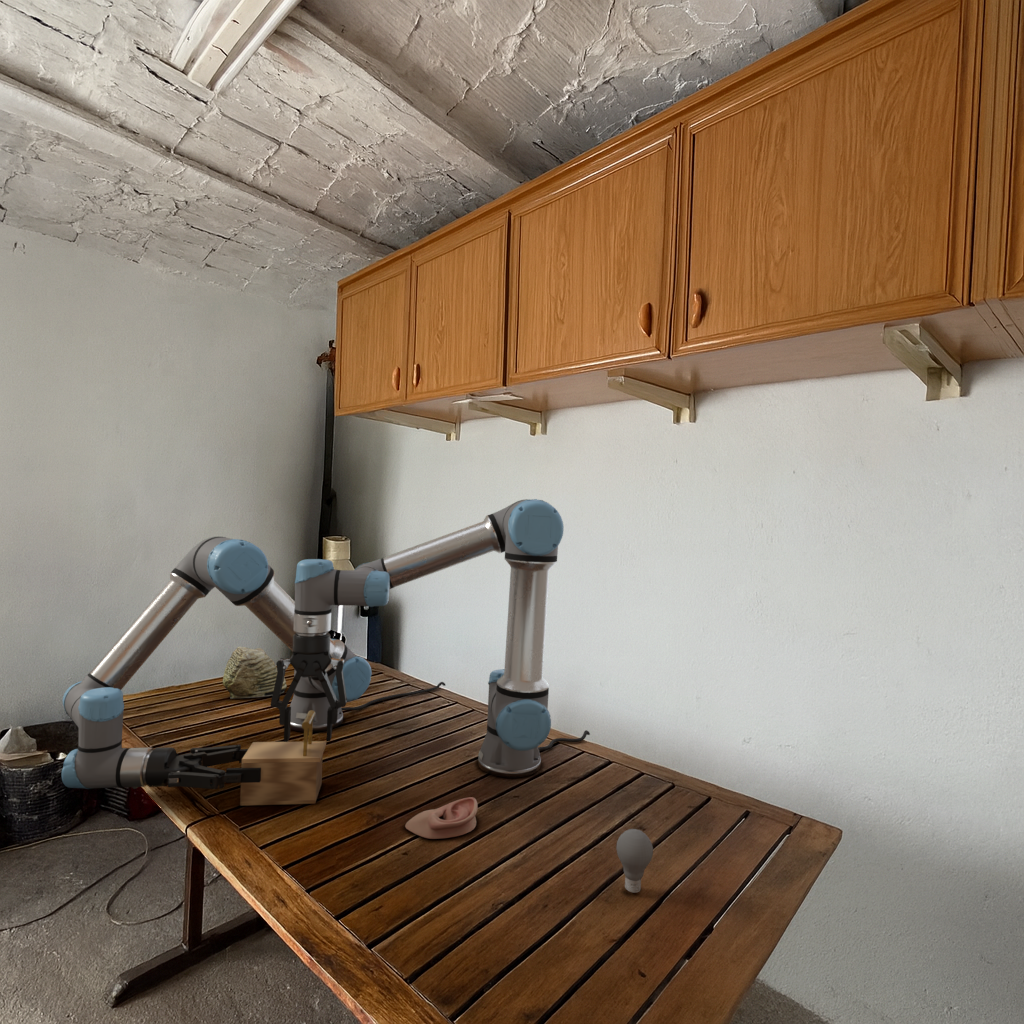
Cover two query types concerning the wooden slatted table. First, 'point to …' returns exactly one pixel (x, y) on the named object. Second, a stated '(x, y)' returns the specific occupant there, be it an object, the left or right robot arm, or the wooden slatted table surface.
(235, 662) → the fossil
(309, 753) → the lid
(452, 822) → the anatomical model
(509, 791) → the wooden slatted table surface
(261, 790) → the chest
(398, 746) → the wooden slatted table surface
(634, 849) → the light bulb
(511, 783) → the wooden slatted table surface
